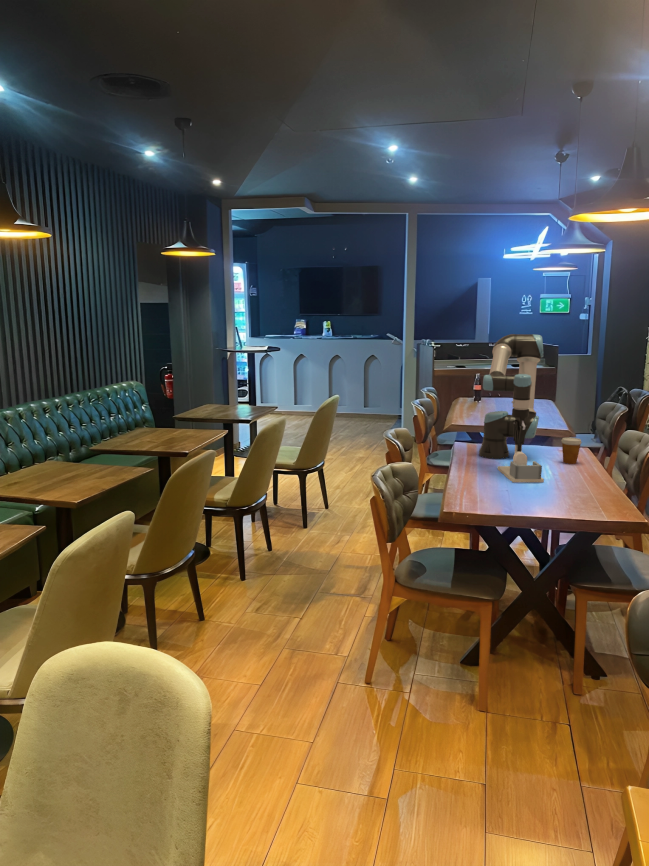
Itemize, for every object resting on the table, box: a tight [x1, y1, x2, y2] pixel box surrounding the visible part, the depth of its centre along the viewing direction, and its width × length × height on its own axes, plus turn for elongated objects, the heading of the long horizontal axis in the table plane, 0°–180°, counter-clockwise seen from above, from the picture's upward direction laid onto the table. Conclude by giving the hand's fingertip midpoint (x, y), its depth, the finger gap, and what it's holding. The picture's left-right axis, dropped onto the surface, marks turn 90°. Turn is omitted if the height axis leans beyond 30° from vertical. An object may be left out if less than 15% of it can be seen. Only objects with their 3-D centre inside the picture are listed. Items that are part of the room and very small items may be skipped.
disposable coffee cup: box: [560, 436, 583, 465], centre depth 311 cm, size 10×10×12 cm
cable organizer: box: [512, 451, 528, 465], centre depth 284 cm, size 5×10×10 cm, turn 0°
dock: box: [497, 460, 545, 483], centre depth 287 cm, size 23×14×8 cm, turn 1°
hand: (517, 457), depth 292 cm, fingers closed
